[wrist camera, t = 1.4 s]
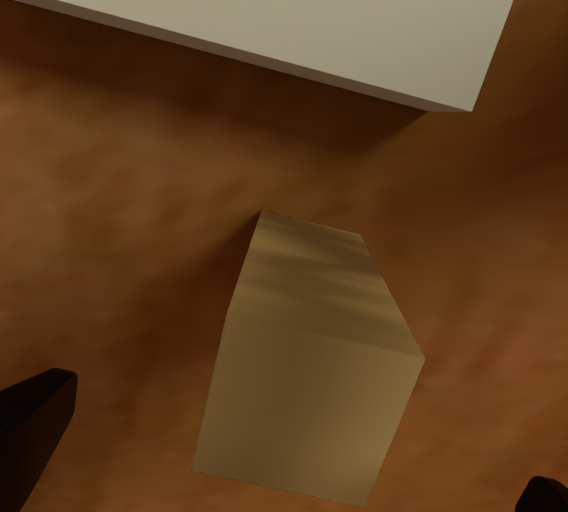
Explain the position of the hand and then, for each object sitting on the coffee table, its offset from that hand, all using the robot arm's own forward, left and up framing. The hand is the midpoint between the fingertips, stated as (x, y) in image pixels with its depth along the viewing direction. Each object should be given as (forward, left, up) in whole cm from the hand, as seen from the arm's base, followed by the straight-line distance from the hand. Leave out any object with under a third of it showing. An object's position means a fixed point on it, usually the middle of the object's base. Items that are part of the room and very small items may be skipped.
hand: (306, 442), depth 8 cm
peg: (0, 0, -10) cm, 10 cm away
